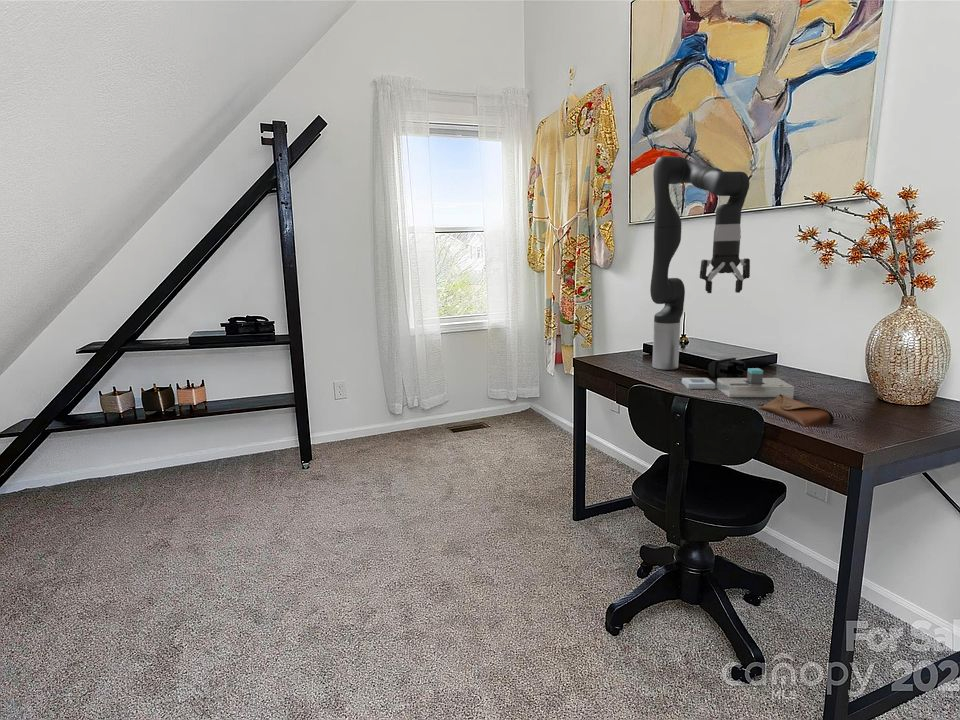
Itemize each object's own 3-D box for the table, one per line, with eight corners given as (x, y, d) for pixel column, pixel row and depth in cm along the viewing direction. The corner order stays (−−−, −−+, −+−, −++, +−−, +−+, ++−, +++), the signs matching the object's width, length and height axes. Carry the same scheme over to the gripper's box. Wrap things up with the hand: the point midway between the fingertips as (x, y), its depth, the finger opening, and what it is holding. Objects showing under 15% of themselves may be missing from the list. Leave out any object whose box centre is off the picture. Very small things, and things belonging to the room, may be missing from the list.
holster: (681, 385, 177) (681, 377, 177) (706, 385, 177) (707, 377, 176) (688, 391, 170) (688, 383, 169) (714, 391, 169) (715, 383, 168)
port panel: (728, 400, 160) (729, 385, 159) (716, 390, 170) (717, 377, 169) (793, 400, 158) (794, 385, 157) (776, 390, 168) (777, 376, 168)
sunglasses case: (754, 407, 152) (766, 386, 151) (771, 417, 154) (783, 397, 153) (806, 427, 134) (820, 404, 134) (825, 438, 136) (838, 415, 136)
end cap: (727, 375, 190) (728, 356, 188) (744, 379, 184) (746, 359, 182) (707, 378, 185) (708, 359, 184) (724, 383, 179) (725, 363, 178)
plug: (746, 390, 165) (747, 368, 164) (757, 390, 165) (758, 368, 164) (750, 393, 162) (751, 370, 161) (761, 393, 162) (763, 370, 161)
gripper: (746, 239, 169) (742, 291, 172) (699, 240, 170) (696, 292, 174) (755, 238, 162) (751, 293, 165) (706, 240, 163) (703, 294, 166)
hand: (723, 292), depth 169 cm, fingers open, 8 cm apart
